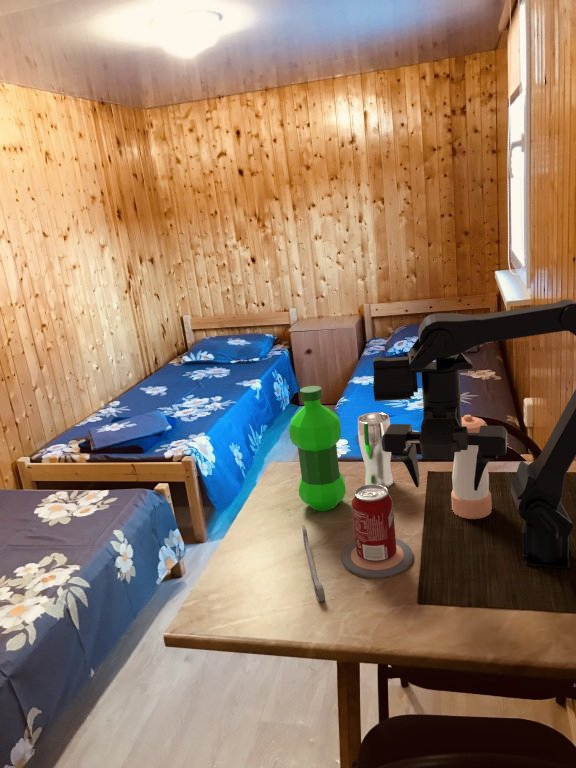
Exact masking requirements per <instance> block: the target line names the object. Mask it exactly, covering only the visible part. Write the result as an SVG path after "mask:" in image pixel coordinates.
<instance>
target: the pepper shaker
mask: <svg viewBox="0 0 576 768" xmlns="http://www.w3.org/2000/svg"><path fill="white" fill-rule="evenodd" d="M462 426H466V427H467V429H468V433H479V431H480V426H489V425H488V424H487V422H486V421H485V420H484V419H482V418H479V417H476V416H472V415H471V414H466V415H465V414H464V416H462ZM477 452H478V446H477V445H468V449H467V450H461V451H460V452H455V456H454V458H453V466H452V474H451V479H452V481H451V483H452V491H451V494H450V496H451V510H453V511H452V513H453V512H454V515H456V516H457V515H458V516H457V517H460V518H464V519H468V520H476V519H483V518H485V517H487V516H489V515H490V514H491V513H492V511H491V510H493V509H492V507H493V506H492V493H491V491H490V489H489V488H490V484H489V483H490V475H489V470H488V464H487V465H486V467H485V469H484V471H483V474H482V477H481V480H480V483H479V486H478V489H477V491H475V490H474V478H475V469H476V457H477Z"/></svg>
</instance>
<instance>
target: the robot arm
mask: <svg viewBox="0 0 576 768" xmlns="http://www.w3.org/2000/svg"><path fill="white" fill-rule="evenodd" d="M560 332H569V333H571V334H572V335H574V336H576V301H575V300H573V299H570V298H567V299H562V300H559V301H557V302H552V303H546V304H539V305H533V306H527V307H521V308H520V307H519V308H513V309H509V310H501V311H497V312H490V313H485V314H484V313H483V314H465V313H455V312H454V313H449V312H447V313H444V312H443V313H439V312H438V313H432V314H429V315H427V316H426V317H424V319H423V320H422V321H421V323H420V324H419V327H418V337H417V339H416V340H415V342H414V343H413V344H412V346H411V347H410V348H409V350H408V352H407V356H399V357H398V356H396V357H383V356H382V357H380V356H379V357H374V358H373V362H372V364H373V381H372V386H373V387H372V388H373V399H374V402H375V403H376V402H388V401H406V400H412V397H415V393H418V392H419V388H418V386H419V385H418V376H417V374H418V373H420V375H421V391H422V393H421V395H422V407H423V409H422V411H423V413H422V414H423V415H422V418H423V419H422V422H421V425H420V431H413V426H412V424H411V423H410V424H409V423H390V425H389V426H388V427H387V429H386V431H385V433H384V435H383V436H382V449H383V451H385V452H391V457H397V458H399V459H400V460H401V461H402V463H403V464H404V465H405V467H406V469H407V471H408V472H409V473H408V474H409V475H410V477H411V480H412V481H413V484H414V486H415V488H419V487H420V470H419V463H418V453H417V448H416V447H417V444H419V446H420V447H419V448H420V453H421V458H422V459H423V460H425V461H430V460H443V461H452V460H454V456H455V452H460V451H461V450H467V449H468V445H477V446H478V452H477V457H476V469H475V478H474V490H475V491H477V489H478V486H479V483H480V480H481V477H482V474H483V471H484V469H485V467H486V465H487V466H488V464H489V462H490V461H494V460H497V459H498V457H504V456H506V455H507V446H508V430H507V429H506V428H505V426H503V425H488V426H480V431H479V433H468V429H467V427H466V426H462V417H463V416H462V398H461V397H462V396H461V395H462V393H461V376H460V371H462V370H463V371H464V370H472V369H473V367H474V365H473V363H472V360H471V358H469V357H467V356H466V355H465V354H463V353H465V352H467V351H470V350H472V349H474V348H476V347H477V346H480V345H484V344H487V343H494V342H500V341H507V340H514V339H521V338H527V337H533V336H541V335H547V334H553V333H560ZM572 393H573V394H572V395H571V397H570V399H569V401H568V402H567V405H565V408H564V409H563V411H562V413H561V415H560V417H559V418H558V421H557V423H556V425H555V427H554V428H553V429H552V432H551V434H550V436H549V437H548V439H547V441H546V443H545V445H544V446H543V448H542V450H541V452H540V453H539V455H538V457H537V458H536V459H535V460H533V461H531V463H529V464H528V463H526V462H524V461H520V462H519V464H518V466H517V471H516V473H514V475H513V476H512V477H511V478H510V479H509V481H510V484H511V486H510V492H511V496H512V498H513V501H514V504H515V507H516V508H517V511H518V514H519V517H520V518H522V519H523V521H525V524H523V525H522V527H521V554H522V556H524V557H525V561H524V562H525V563H524V564H525V565H527V566H532V567H534V566H535V567H543V568H553V569H554V568H555V569H556V568H557V569H565V570H568V569H570V566H571V564H570V563H571V562H570V553H569V539H570V538H569V537H570V535H571V532H572V531H573V527H574V523H573V522H572V520H571V519H570V516H569V514H568V513H567V511H566V508H565V507H564V505H563V503H562V500H563V499H562V498H563V496H564V495H563V494H564V493H563V492H564V486H565V478H566V475H567V473H568V471H569V469H570V467H571V465H572V464H573V462H574V461H575V458H576V388H575V390H574V391H573V392H572Z"/></svg>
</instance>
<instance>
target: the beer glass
mask: <svg viewBox="0 0 576 768" xmlns="http://www.w3.org/2000/svg"><path fill="white" fill-rule="evenodd" d="M390 424H391V421H390V415H388V414H387V413H384V412H377V411H376V412H369V413H365V414H362V415H359V416H358V417H357V434H358V445H359V449H360V452H361V456H362V458H363V463H364V469H365V477H364V478H365V479H364V486H365V485H371V484H375V485H381V486H384V487H385V488H387V489H388V488H390V487H391V486H392V485H393V483H394V478H393V474H392V470H391V459H392V458H391V457H392V454H391V452H385V451H383V449H382V436H383V435H384V433H385V431H386V429H387V427H388V426H389V425H390Z"/></svg>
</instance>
